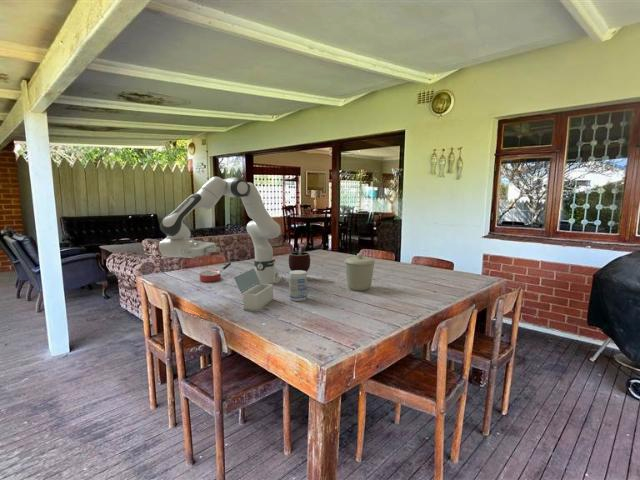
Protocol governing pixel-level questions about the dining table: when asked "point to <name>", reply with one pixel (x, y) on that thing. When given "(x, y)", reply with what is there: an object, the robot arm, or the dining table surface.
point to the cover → (247, 280)
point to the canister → (359, 272)
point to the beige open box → (258, 297)
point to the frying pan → (212, 275)
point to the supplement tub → (297, 285)
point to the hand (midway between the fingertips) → (217, 249)
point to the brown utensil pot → (299, 261)
